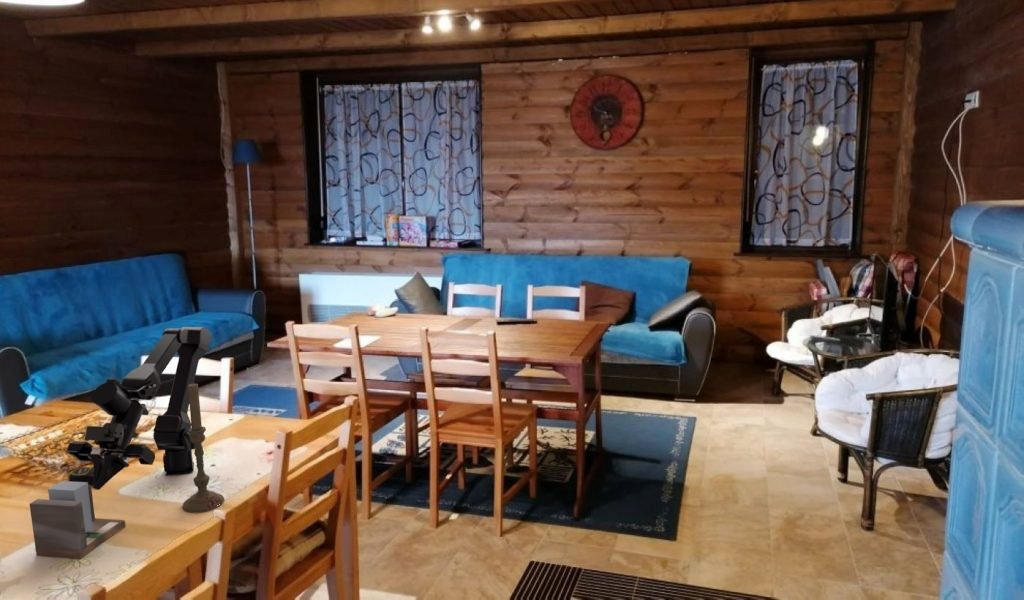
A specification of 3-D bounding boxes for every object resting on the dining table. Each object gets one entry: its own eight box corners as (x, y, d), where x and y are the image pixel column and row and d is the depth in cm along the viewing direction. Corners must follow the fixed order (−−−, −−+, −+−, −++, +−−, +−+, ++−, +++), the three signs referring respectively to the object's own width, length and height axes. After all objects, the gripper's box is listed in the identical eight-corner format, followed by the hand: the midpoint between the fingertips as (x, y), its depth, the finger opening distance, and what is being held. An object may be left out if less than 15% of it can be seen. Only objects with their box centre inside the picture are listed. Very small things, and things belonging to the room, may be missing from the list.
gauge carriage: (69, 527, 159) (63, 479, 157) (106, 529, 158) (100, 481, 156) (53, 538, 155) (47, 488, 153) (91, 540, 153) (85, 491, 151)
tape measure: (97, 488, 184) (95, 474, 183) (66, 492, 182) (64, 477, 181) (103, 477, 190) (101, 463, 190) (73, 481, 188) (71, 467, 188)
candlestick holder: (198, 515, 168) (187, 389, 163) (174, 506, 173) (162, 383, 167) (232, 500, 176) (222, 379, 170) (208, 492, 180) (197, 374, 175)
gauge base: (84, 523, 165) (78, 475, 163) (125, 526, 163) (120, 477, 161) (36, 555, 151) (29, 503, 149) (80, 559, 150) (73, 506, 148)
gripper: (66, 407, 166) (34, 473, 157) (142, 410, 163) (114, 477, 155) (94, 428, 175) (66, 491, 166) (166, 431, 172) (141, 496, 164)
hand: (96, 489), depth 162 cm, fingers closed
